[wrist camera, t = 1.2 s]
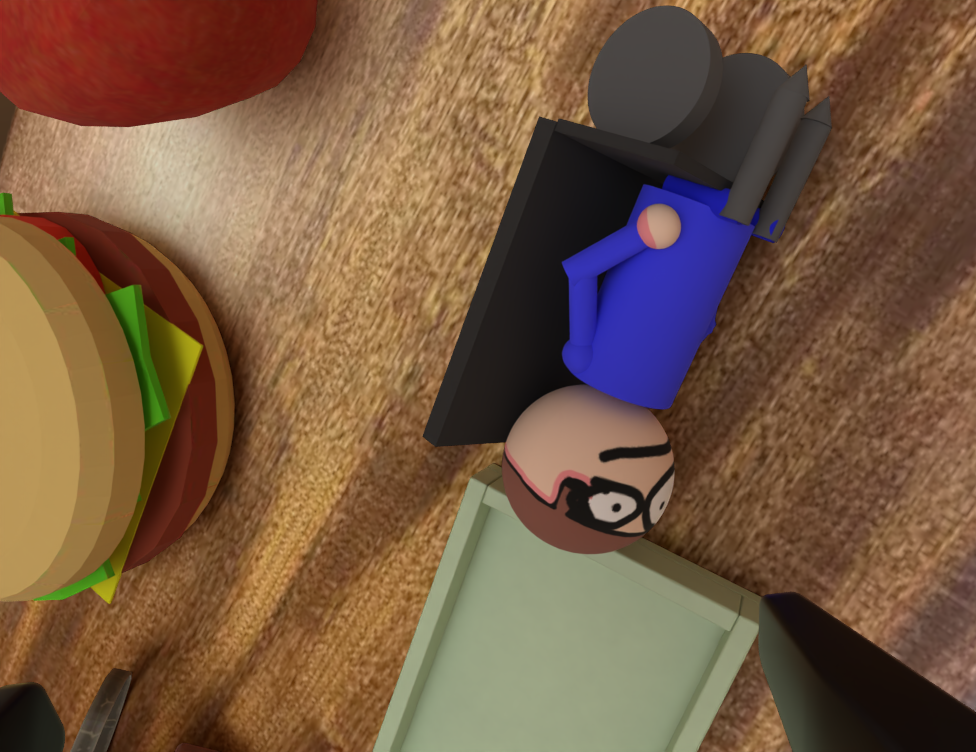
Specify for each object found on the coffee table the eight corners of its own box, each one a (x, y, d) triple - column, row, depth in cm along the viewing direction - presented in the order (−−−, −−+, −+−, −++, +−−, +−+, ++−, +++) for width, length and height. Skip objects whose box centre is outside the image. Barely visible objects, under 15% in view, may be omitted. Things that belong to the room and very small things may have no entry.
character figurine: (861, 109, 21) (645, 528, 25) (634, 32, 22) (468, 436, 27) (929, 32, 13) (608, 642, 18) (586, -74, 15) (368, 506, 19)
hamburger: (187, 617, 34) (23, 709, 27) (-18, 437, 39) (-206, 474, 31) (305, 324, 29) (144, 339, 22) (55, 158, 34) (-148, 125, 26)
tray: (764, 597, 23) (761, 626, 21) (579, 961, 28) (563, 1012, 26) (493, 462, 27) (470, 476, 25) (367, 807, 31) (339, 842, 29)
